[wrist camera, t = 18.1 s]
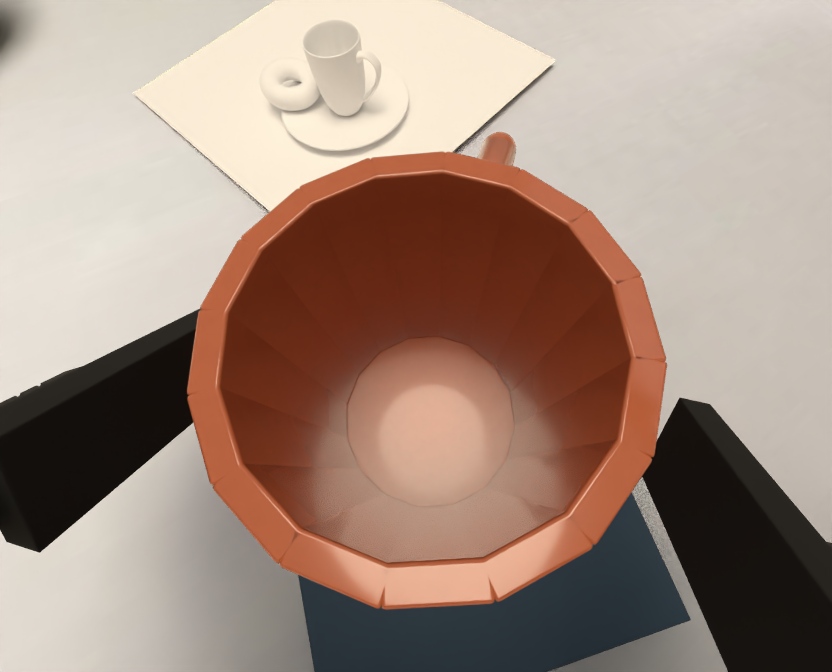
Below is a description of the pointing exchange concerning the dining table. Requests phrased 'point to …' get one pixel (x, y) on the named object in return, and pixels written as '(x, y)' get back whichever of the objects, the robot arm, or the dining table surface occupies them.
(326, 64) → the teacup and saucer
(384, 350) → the tall mug
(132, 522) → the dining table surface
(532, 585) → the mat
